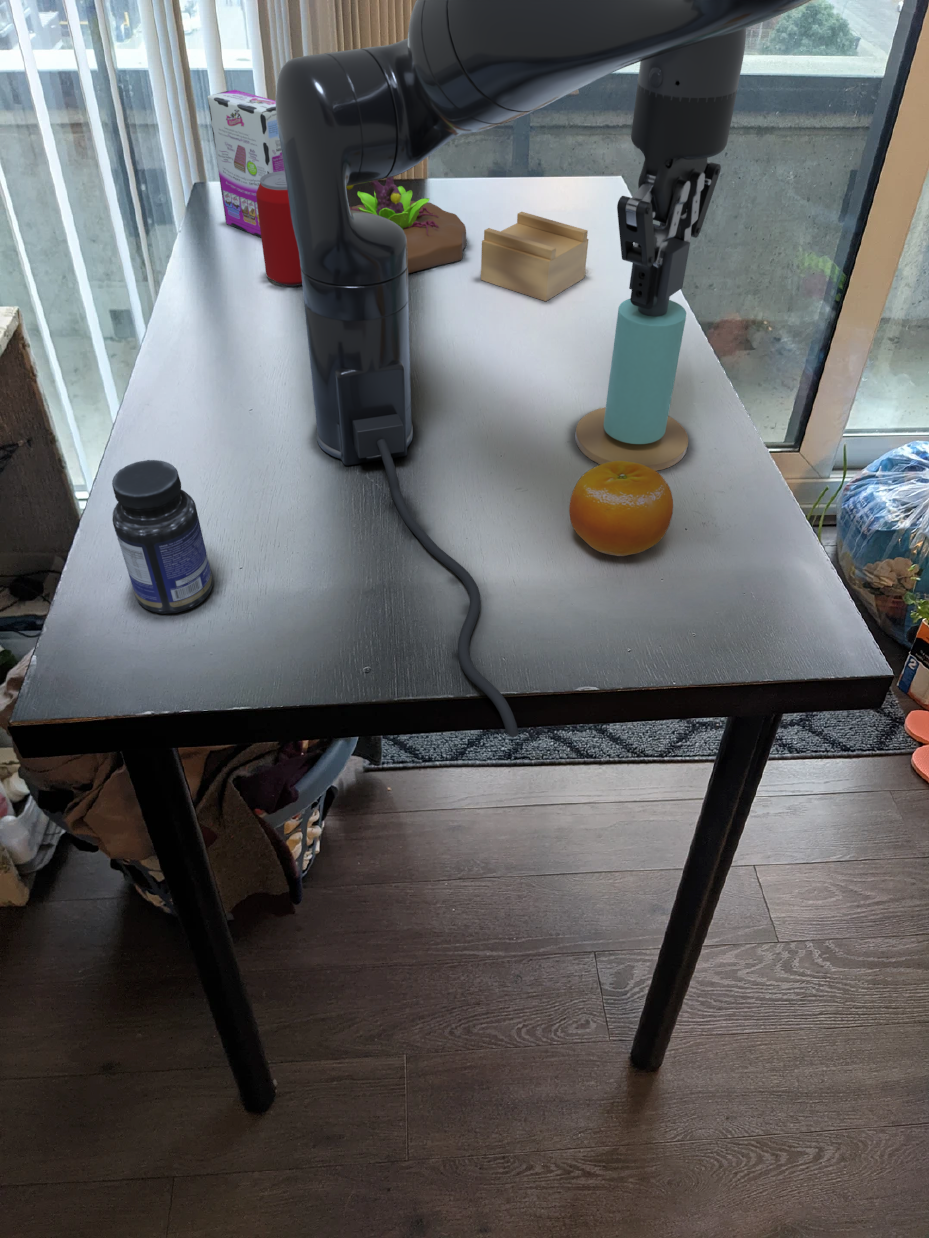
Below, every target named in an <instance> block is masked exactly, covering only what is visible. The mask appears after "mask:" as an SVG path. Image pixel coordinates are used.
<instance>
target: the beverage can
mask: <svg viewBox="0 0 929 1238" xmlns="http://www.w3.org/2000/svg"><path fill="white" fill-rule="evenodd" d="M256 198H257V207H258V216H259V224H260V232H261V237H260V239H261V245H262V253H263V260H264V268H265V274H266V276H267V277H268V279H270V280H272V281H274V282H276V283H278V284H280V285H283V286H288V287H289V286H290V287H292V286H301V285H302V276H301V266H300V257H299V250H298V245H297V241H296V237H295V233H294V229H293V224H292V219H291V213H290V205H289V196H288V189H287V183H286V176H285V171H279V172H272V173H268V174H265V175H263V176H262V177H261V178H260V184H259V187H258V190H257V192H256Z"/></svg>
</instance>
